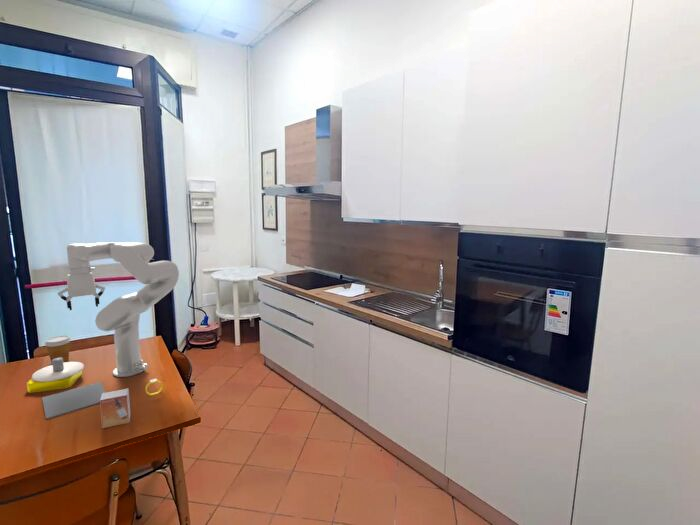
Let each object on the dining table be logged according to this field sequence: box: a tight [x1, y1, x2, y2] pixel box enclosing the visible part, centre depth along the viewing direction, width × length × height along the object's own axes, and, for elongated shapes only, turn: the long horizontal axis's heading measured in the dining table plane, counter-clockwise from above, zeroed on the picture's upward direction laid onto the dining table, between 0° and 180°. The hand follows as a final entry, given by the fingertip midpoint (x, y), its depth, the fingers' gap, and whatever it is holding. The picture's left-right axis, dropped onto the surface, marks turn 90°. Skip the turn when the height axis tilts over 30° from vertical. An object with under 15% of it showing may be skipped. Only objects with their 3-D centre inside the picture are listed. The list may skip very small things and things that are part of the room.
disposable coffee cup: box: [44, 335, 71, 364], centre depth 169 cm, size 10×10×12 cm
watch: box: [144, 378, 164, 397], centre depth 142 cm, size 6×3×6 cm, turn 127°
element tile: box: [26, 370, 83, 394], centre depth 151 cm, size 15×15×5 cm
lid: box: [31, 357, 85, 382], centre depth 150 cm, size 17×17×6 cm
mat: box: [41, 381, 107, 421], centre depth 137 cm, size 19×19×1 cm
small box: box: [99, 388, 131, 429], centre depth 123 cm, size 8×6×10 cm
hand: (84, 307), depth 162 cm, fingers open, 9 cm apart
